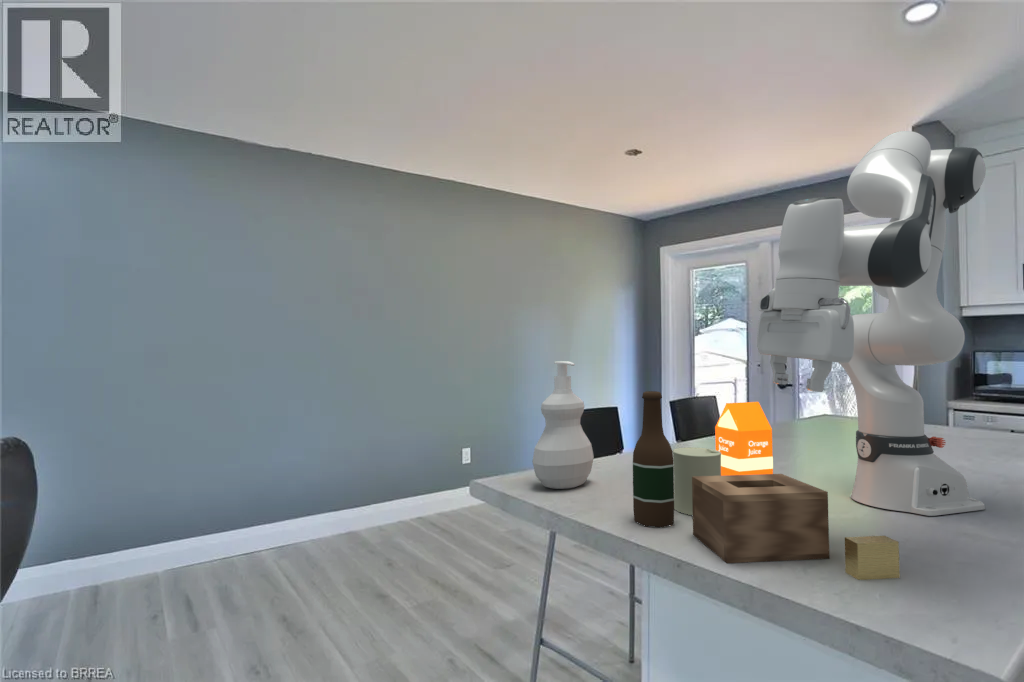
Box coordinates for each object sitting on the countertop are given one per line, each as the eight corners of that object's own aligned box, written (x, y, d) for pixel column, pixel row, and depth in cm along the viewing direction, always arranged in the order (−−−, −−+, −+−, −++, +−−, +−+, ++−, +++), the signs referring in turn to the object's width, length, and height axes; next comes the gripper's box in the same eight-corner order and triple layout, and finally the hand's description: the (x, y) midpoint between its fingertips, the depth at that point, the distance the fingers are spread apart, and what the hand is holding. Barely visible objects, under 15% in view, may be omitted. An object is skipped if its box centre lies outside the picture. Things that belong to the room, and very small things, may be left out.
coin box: (782, 531, 91) (781, 473, 92) (829, 558, 79) (827, 491, 80) (693, 535, 90) (691, 476, 90) (726, 563, 78) (725, 495, 78)
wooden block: (885, 570, 75) (884, 535, 75) (899, 578, 72) (898, 541, 73) (845, 572, 75) (844, 537, 75) (858, 580, 72) (857, 543, 72)
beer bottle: (627, 515, 101) (625, 390, 102) (666, 513, 102) (664, 389, 102) (640, 529, 94) (638, 393, 94) (682, 527, 94) (680, 393, 95)
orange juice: (715, 491, 118) (714, 401, 119) (748, 487, 121) (746, 400, 121) (740, 500, 111) (738, 404, 111) (774, 496, 113) (772, 403, 114)
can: (727, 518, 99) (725, 454, 99) (676, 515, 101) (674, 452, 101) (718, 504, 108) (716, 445, 108) (671, 502, 110) (670, 444, 110)
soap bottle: (555, 496, 115) (553, 362, 116) (521, 486, 124) (519, 361, 124) (606, 483, 126) (604, 360, 126) (571, 475, 135) (569, 360, 135)
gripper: (872, 298, 73) (861, 398, 73) (788, 304, 93) (780, 382, 93) (827, 294, 72) (817, 394, 73) (753, 301, 93) (745, 379, 93)
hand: (796, 387), depth 83 cm, fingers open, 8 cm apart
